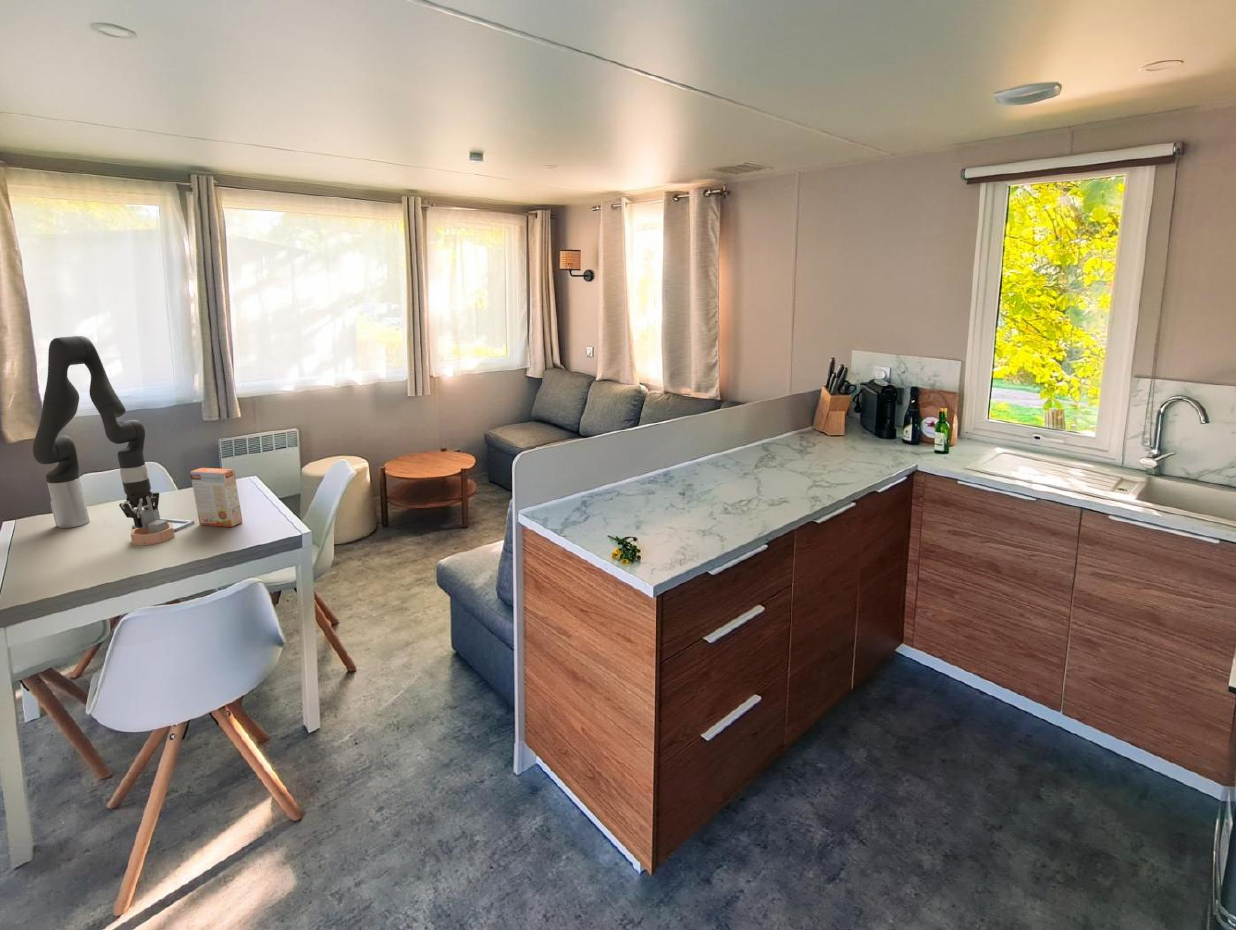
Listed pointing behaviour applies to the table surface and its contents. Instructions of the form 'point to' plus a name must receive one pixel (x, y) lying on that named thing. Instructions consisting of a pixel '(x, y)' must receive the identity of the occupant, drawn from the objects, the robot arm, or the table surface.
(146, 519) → the gray rectangular block
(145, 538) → the bowl
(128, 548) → the table surface
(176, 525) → the tray
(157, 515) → the gray block
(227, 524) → the cracker box
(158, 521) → the grey rectangular block
